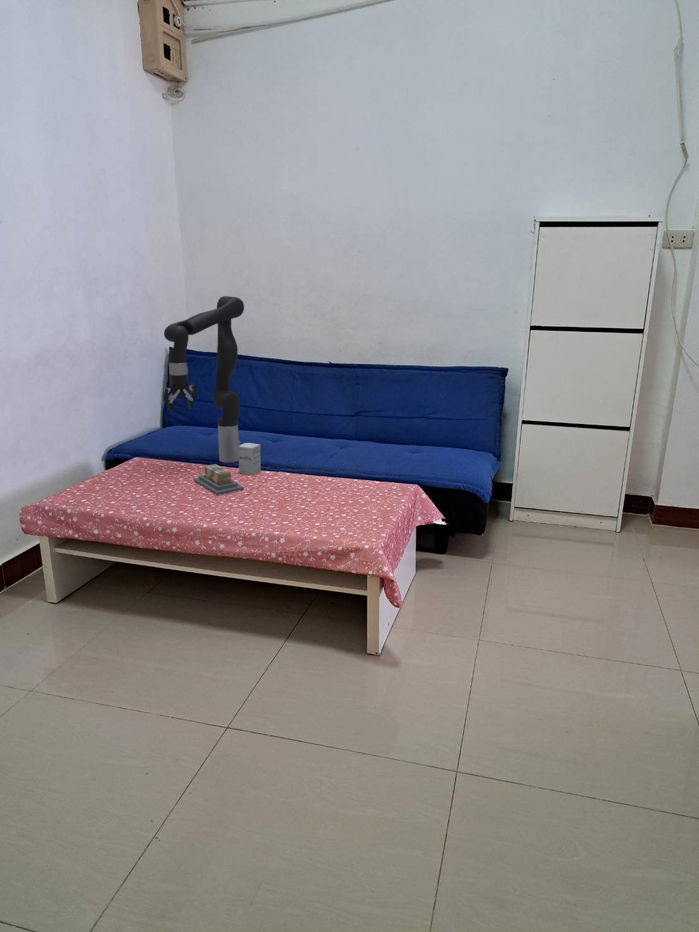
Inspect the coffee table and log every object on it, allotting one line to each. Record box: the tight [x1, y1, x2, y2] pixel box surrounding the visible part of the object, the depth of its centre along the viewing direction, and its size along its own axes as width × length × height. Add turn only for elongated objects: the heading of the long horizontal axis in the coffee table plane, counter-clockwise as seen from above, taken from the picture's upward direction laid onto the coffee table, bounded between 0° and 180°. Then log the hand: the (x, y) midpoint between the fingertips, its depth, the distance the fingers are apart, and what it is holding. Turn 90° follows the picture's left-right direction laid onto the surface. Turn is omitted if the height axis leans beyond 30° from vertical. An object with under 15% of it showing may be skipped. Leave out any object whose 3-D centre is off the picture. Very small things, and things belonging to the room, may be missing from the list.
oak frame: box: [204, 463, 232, 486], centre depth 275 cm, size 14×5×6 cm, turn 37°
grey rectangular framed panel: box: [193, 474, 244, 496], centre depth 276 cm, size 22×12×3 cm, turn 37°
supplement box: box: [238, 442, 262, 476], centre depth 293 cm, size 7×7×13 cm
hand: (180, 410), depth 285 cm, fingers open, 8 cm apart
